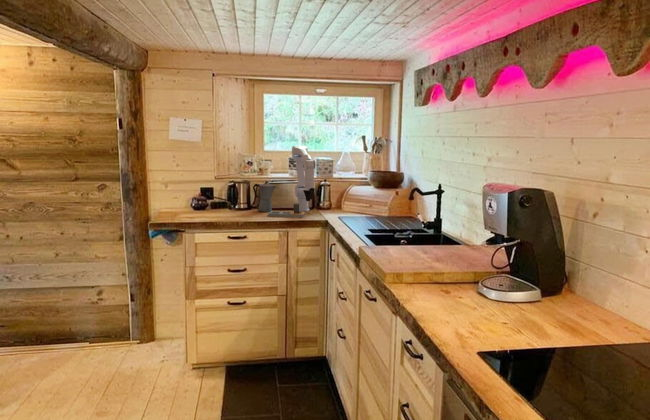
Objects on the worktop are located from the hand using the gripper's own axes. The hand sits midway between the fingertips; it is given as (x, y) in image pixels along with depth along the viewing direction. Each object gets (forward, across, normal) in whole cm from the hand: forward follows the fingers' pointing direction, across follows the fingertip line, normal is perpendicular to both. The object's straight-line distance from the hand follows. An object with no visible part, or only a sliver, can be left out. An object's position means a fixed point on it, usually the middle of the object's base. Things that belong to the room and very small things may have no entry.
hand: (309, 200), depth 306 cm
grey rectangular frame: (+9, +7, -13) cm, 18 cm away
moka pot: (+10, -7, -31) cm, 34 cm away
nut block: (+9, +7, -6) cm, 13 cm away
